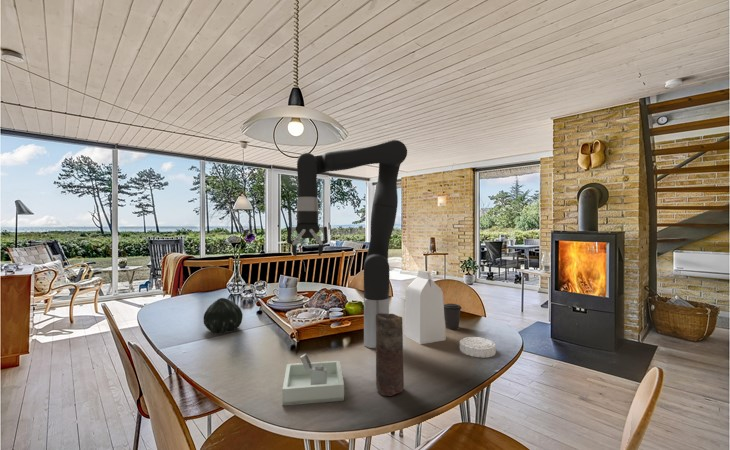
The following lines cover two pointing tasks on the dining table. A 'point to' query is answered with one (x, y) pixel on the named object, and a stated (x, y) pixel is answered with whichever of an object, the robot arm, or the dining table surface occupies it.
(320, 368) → the lighter
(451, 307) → the coffee cup
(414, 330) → the milk
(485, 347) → the mooncake
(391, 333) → the candle
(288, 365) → the bin
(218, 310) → the squash
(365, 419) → the dining table surface
